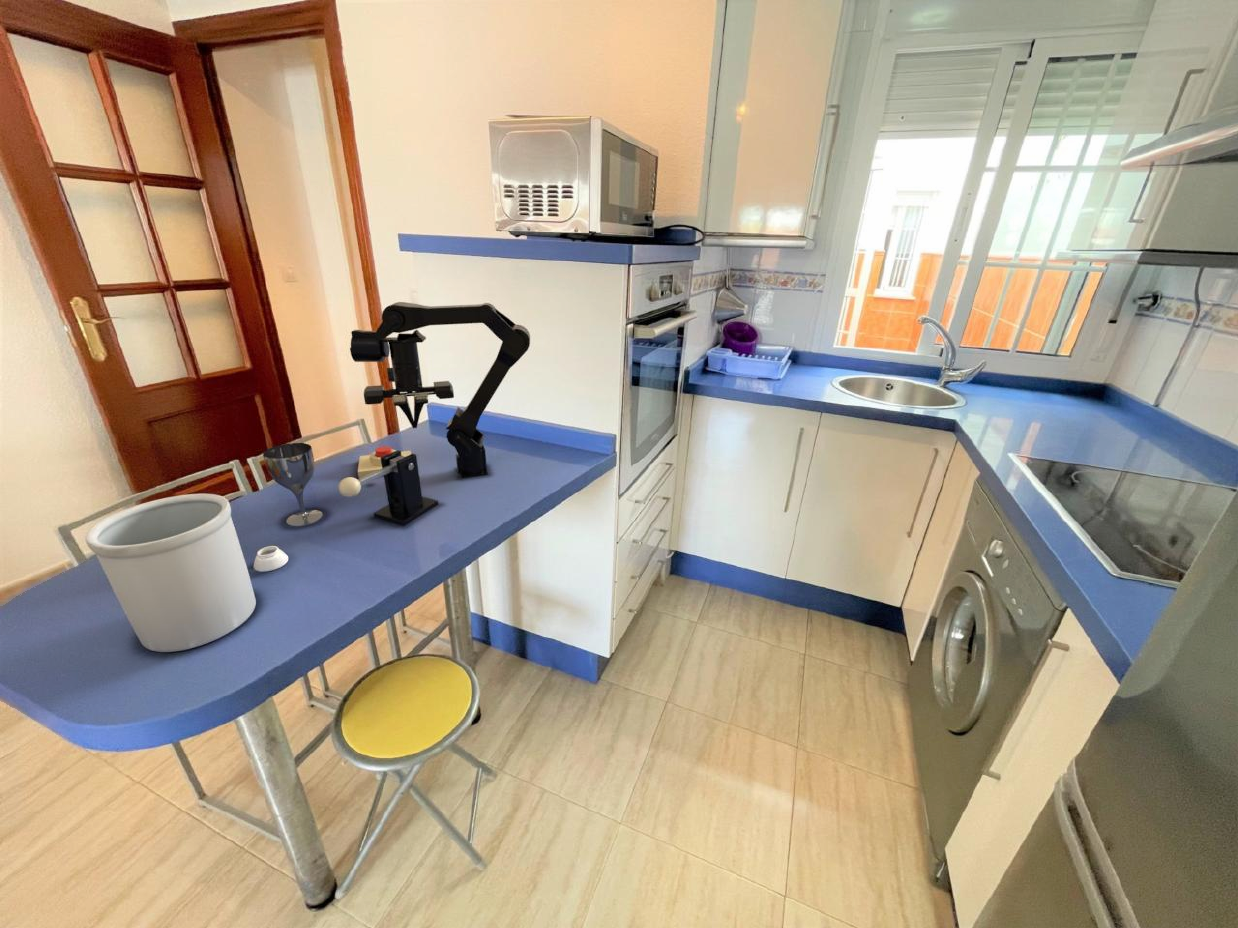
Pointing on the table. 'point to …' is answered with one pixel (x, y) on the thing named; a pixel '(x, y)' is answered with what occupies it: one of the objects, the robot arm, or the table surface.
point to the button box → (373, 463)
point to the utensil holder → (176, 570)
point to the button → (383, 451)
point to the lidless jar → (270, 559)
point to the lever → (365, 479)
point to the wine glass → (293, 475)
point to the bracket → (403, 492)
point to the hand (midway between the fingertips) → (414, 427)
